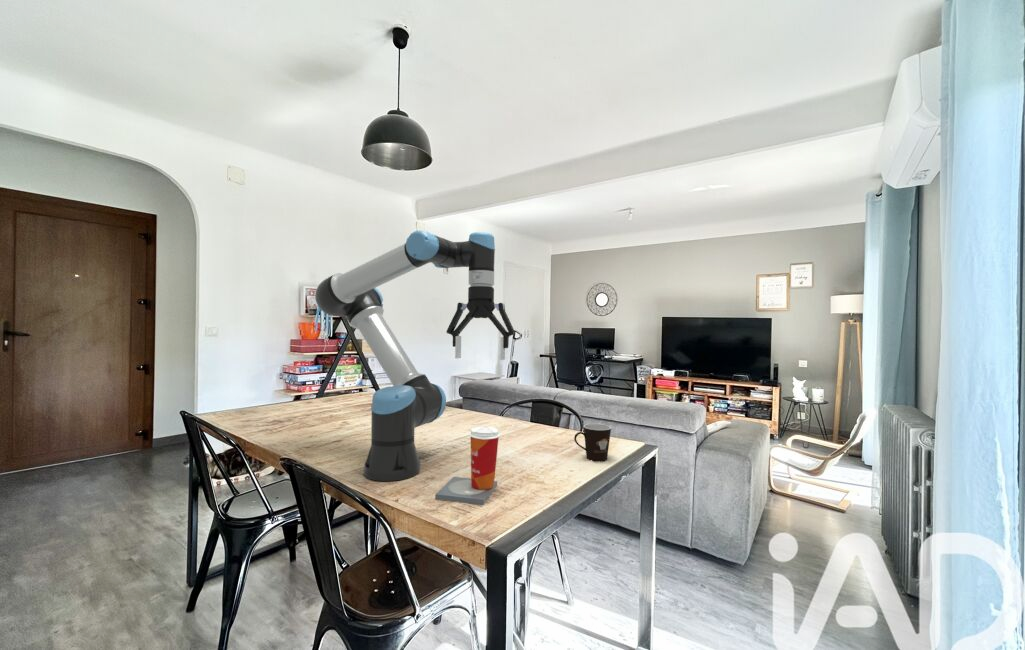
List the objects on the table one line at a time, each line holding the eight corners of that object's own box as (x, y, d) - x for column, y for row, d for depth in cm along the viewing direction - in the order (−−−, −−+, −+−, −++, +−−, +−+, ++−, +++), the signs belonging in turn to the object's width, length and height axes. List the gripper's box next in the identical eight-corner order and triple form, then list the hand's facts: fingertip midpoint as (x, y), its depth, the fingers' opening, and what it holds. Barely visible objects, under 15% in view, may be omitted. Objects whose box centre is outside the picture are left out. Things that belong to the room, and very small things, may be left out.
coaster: (435, 499, 99) (435, 493, 99) (453, 481, 110) (453, 476, 110) (483, 505, 96) (483, 499, 96) (497, 485, 108) (497, 480, 108)
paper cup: (468, 479, 108) (470, 425, 108) (498, 480, 108) (500, 426, 108) (465, 491, 100) (468, 433, 100) (497, 492, 100) (499, 434, 100)
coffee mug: (608, 454, 136) (609, 424, 136) (612, 463, 127) (612, 430, 127) (572, 453, 137) (573, 422, 137) (574, 461, 128) (574, 429, 128)
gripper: (436, 285, 121) (435, 358, 121) (520, 284, 115) (518, 361, 115) (446, 287, 128) (445, 356, 128) (525, 287, 122) (524, 359, 122)
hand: (480, 359), depth 122 cm, fingers open, 13 cm apart
